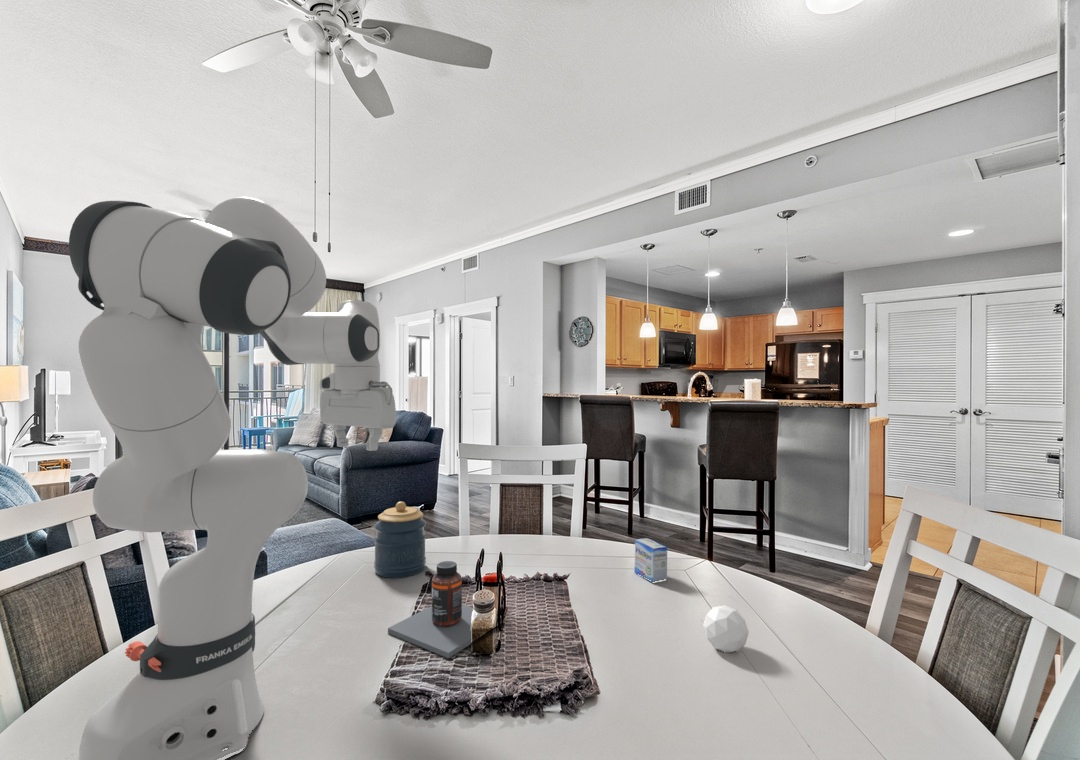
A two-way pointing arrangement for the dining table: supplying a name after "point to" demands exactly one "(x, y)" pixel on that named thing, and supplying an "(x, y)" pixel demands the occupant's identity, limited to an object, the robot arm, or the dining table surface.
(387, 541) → the canister
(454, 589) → the supplement bottle
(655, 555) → the medicine box
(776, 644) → the dining table surface
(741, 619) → the geometric ball
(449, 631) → the mat
